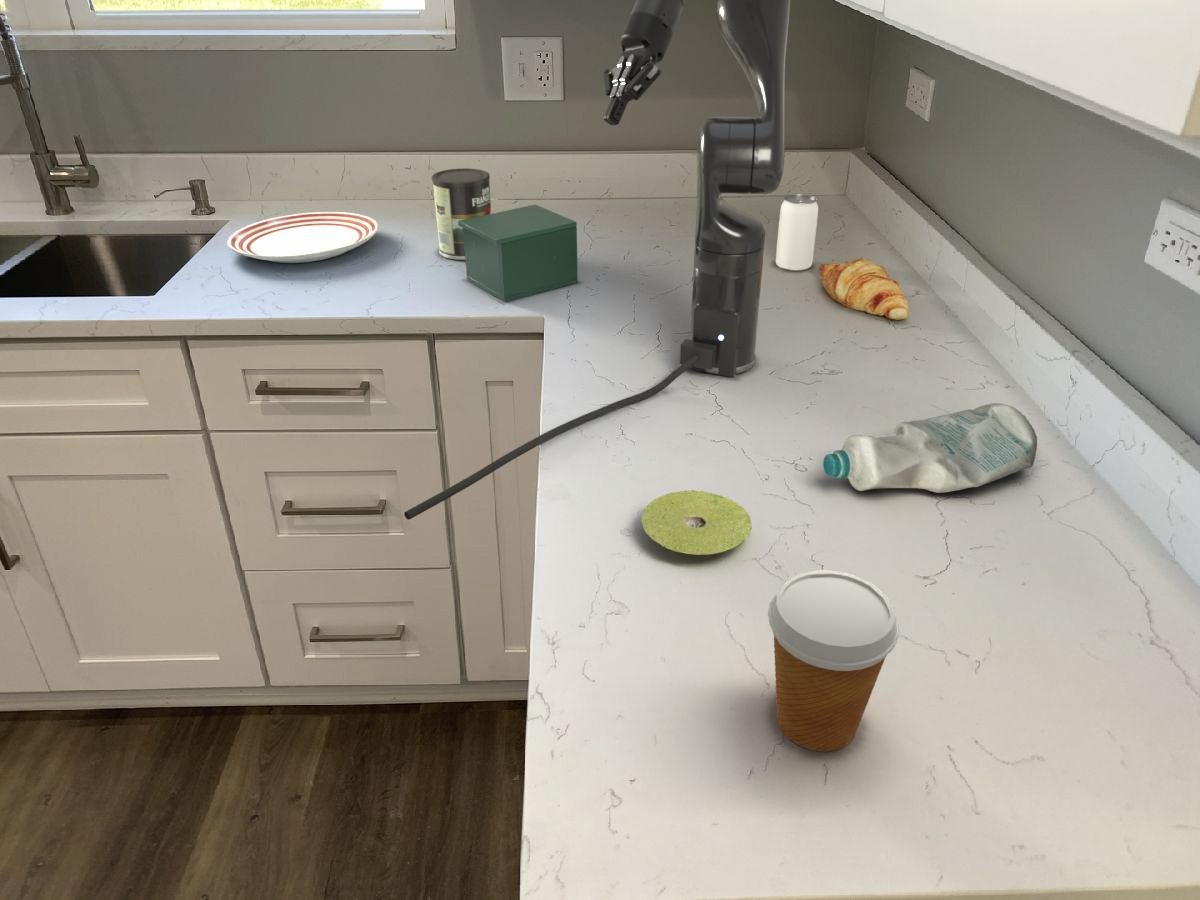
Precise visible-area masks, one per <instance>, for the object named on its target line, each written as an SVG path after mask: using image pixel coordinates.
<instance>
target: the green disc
mask: <svg viewBox="0 0 1200 900" xmlns="http://www.w3.org/2000/svg"><path fill="white" fill-rule="evenodd" d="M641 524H642V528H643V530H644V532H645V534H647V536H648V537H649V538H650V539H651V540H653V541H654V542H655V543H657V544H658V545H660V546H661V547H663V548H666V549H668V550H671V551H673V552H675V553H681V554H683V553H684V554H686V555H692V556H695V555H696V556H697V555H698V556H704V555H714V554H720V553H724V552H727V551H731V550H733V549H735V548H737V547H738V546H739V545H741V544H742V543H743V542H745V540H747V538H748V537H749V536H750V534H751V530H752V519H751V516H750V515H749V513H748V512H747V511H746V509H745V508H744V507H742V506H741V505H740V504H739V503H737V502H736V501H734V500H733V499H730V498H729V497H726V496H723V495H720V494H716V493H713V492H709V491H704V490H681V491H676V492H670V493H666V494H663V495H661V496H659V497H658V498H657V497H656V498H655V499H654V500H652V501H651V502H650V503H649V504H647V506H646V507H645V508H644V510H643V512H642V516H641Z"/></svg>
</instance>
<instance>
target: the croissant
mask: <svg viewBox="0 0 1200 900" xmlns="http://www.w3.org/2000/svg"><path fill="white" fill-rule="evenodd" d="M819 275H820V277H821V284H822V286H823V288H824V289H825V291H826V293H828V295H829V297H831V298H832V299H833V300H835V301H836V302H838V303H840V304H842V305H843V306H844V307H847V308H849V309H851V310H855V311H860V312H866V313H868V314H869V315H877V316H881V317H882V316H885V317H886V318H887V319H889V320H903V319H906V318H907V317H908V316H909V313H910V306H909V303H908V299H907V298H906V297H905V295H904V290H903V289H902V288H901V287H900V283H899V282H898V281H897V280H895V279H892V278H891V277H890V275H889V273H888V272H887V270H886V268H884V266H882V265H880V264H877V263H876V262H874V261H872V260H868V259H865V258H863V257H860V258H858V259H854V260H852V261H844V262H843V263H842V262H841V263H835V262H834V263H833V262H832V263H830V264H829V263H824V264H822V263H821V264H820V266H819Z"/></svg>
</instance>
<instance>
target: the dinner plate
mask: <svg viewBox="0 0 1200 900" xmlns="http://www.w3.org/2000/svg"><path fill="white" fill-rule="evenodd" d="M378 231H379V224H378V222H377V221H376V220H375V219H374V218H372V217H370V216H367V215H364V214H359V213H353V212H343V211H316V212H315V211H313V212H304V213H295V214H287V215H280V216H277V217H272V218H267V219H264V220H261V221H258V222H254V223H252V224H248V225H247V226H244V227H242V228H240V229H238V230H237V231H235V232H233V233H232V234H231V235H230V236H229V238H228V239H227V241H226V242H227V243H226V244H227V247H229V249H230V250H231V251H233V252H235V253H238V254H240V255H242V256H245V257H249V258H252V259H256V260H263V261H269V262H273V263H279V264H280V263H282V264H299V263H300V264H301V263H311V262H317V261H322V260H327V259H331V258H334V257H338V256H340V255H343V254H345V253H347V252H349V251H351V250H353V249H355V248H357V247H360V246H361V245H363V244H365V243H366V242H368V241H369V240H370V239H372V238H373V237H374V236H375V235H376V234H377V232H378Z"/></svg>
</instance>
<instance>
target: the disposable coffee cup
mask: <svg viewBox="0 0 1200 900" xmlns="http://www.w3.org/2000/svg"><path fill="white" fill-rule="evenodd" d="M895 613H896V612H895V609H894V606H893V603H892V601H891V600H890V599H889V597H888V596H887V595H886V594H885V592H883V591H882V590H881V589H880V588H879V587H878V586H877V585H875V584H873V583H872V582H870V581H868V580H867V579H865V578H862V577H860V576H858V575H854V574H851V573H849V572H848V573H847V572H843V571H840V570H830V569H818V570H817V569H816V570H809V571H805V572H801V573H799V574H796V575H794V576H792V577H790V578H789V579H787V580H786V581H785V582H784V583H782V585H781V586H780V587H779V588H778V591H777V592H776V593H775V594H774V596H773V597H772V599H771V601H770V602H769V605H768V611H767V617H768V623H769V627H770V629H771V630H772V633H773V648H774V650H773V653H774V672H775V674H774V676H775V677H774V678H775V696H776V697H775V699H776V700H775V701H776V721H777V724H778V726H779V729H780V731H781V732H782V733H783V734H784V735H785V736H786V737H787V739H789V740H790V741H792V742H793V743H795V744H796V745H798V746H800V747H802V748H805V749H806V750H811V751H817V752H831V751H837V750H841V749H842V748H844V747H846V746H848V745H850V743H851V742H852V741H853V740H854V738H855V736H856V734H857V731H858V728H859V726H860V723H861V720H862V718H863V715H864V713H865V710H866V708H867V706H868V703H869V701H870V698H871V695H872V692H873V690H874V688H875V685H876V683H877V681H878V677H879V674H880V672H881V670H882V668H883V666H884V665H883V664H884V663H885V662H884V661H885V659H886V658H887V656H888V655H889V654H890V653H891V652H892V651H893V649H894V648H895V647H896V644H897V643H898V640H899V636H900V624H899V621H898V619H897V616H896V614H895Z"/></svg>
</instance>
